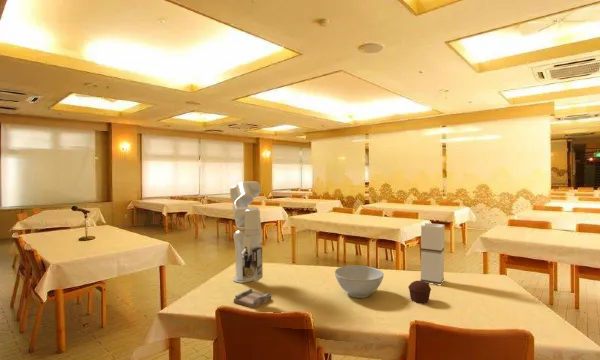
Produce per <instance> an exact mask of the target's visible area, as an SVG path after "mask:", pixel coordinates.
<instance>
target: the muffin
mask: <svg viewBox="0 0 600 360" xmlns="http://www.w3.org/2000/svg"><path fill="white" fill-rule="evenodd" d="M408 290H409V295H410V296H409V297H410V300H411V302H413V301H414V303H415V302H416V304H420V303H423V304H427V303H429V302H428V301H430V295H431V290H432V288H431V286H430V284H427V283H426V282H424V281H421V280H415V281H412V282H411V283H410V284H409V285H408Z"/></svg>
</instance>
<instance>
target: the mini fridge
mask: <svg viewBox="0 0 600 360" xmlns="http://www.w3.org/2000/svg"><path fill="white" fill-rule="evenodd" d="M420 229H421V230H420V232H421V233H420V239H421V240H420V281H424V282H426V283H433V284H441V283H442V281H443V280H445V278H444V269H445V268H444V264H445V262H444V261H445V258H444V257H445V224H440V223H426V222H425V223H424V225H420ZM443 282H444V281H443ZM442 284H443V283H442Z"/></svg>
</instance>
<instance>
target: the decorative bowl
mask: <svg viewBox="0 0 600 360" xmlns="http://www.w3.org/2000/svg"><path fill="white" fill-rule="evenodd" d="M334 275H335V279H336V280H337V282H338V285H339V286H340V287H341V288H342V289H343V290H344V291H345V292H346V293H347V294H348V296H350V297H352V298H358V299H362V298H364V299H365V298H369V297H370V296H371V294H373V293H374V292H376V291H377V290H378V289H379V287H380V286H381V284H382V282H383V278H384V272H383V271H382V270H380V269H378V268H376V267H373V266H367V265H355V264H354V265H343V266H340V267H338V268H337V269H335V270H334Z"/></svg>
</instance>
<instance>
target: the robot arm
mask: <svg viewBox="0 0 600 360" xmlns="http://www.w3.org/2000/svg"><path fill="white" fill-rule="evenodd" d="M261 190H262V189H261V185H260V183H259V182H258V181H255V180H254V181H245V180H244V181H241V182H239V183H237V184H236V185H231V187H230V189H229V195H230V199H231V202H232V204H233V205H232V213H233V214H232V216H233V219H234V221H235V226H236V228H239V230H236V231H235V232H234V234H233V240H234V250H235V276H234V277H233V280H232V281H233V282H235V283H238V284H239V283H240V284H244V283H249V282H252V281H253V280H245V279H243V269H242V257H243V259H244V260H245V268H250V260H249V259H250V256H251V255H252V250H254V249H256V248H262V250H263V249H264V247H263V246H262V245H261V244H262V240H263V235H262V234H263V232H262V221H261V210H260V209H259V207H257V206H249V205H251V204H252V203H253V201H254V198H255V199H256V198H257V197H258V196H259V195H260V194H261V192H262V191H261ZM242 249H243V252H242ZM246 252H248V254H246ZM247 256H248V258H247Z"/></svg>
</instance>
